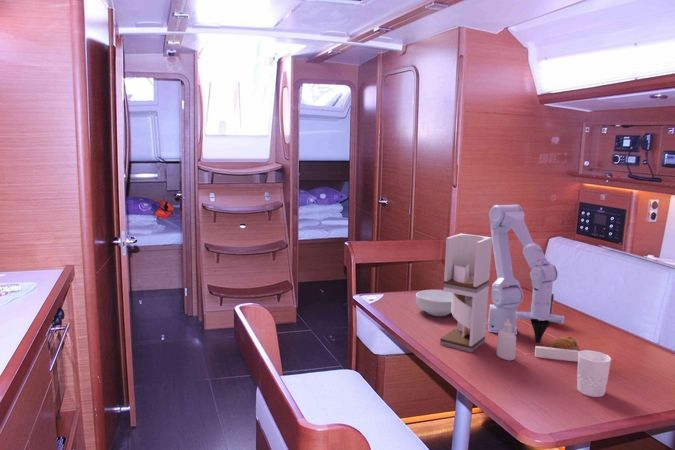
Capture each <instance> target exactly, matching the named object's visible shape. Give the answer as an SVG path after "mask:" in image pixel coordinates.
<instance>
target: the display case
mask: <svg viewBox="0 0 675 450" xmlns="http://www.w3.org/2000/svg"><path fill="white" fill-rule="evenodd" d="M445 242H446V243H445V259H444V270H443V271H444V274H443V275H444V277H443V291H445V292H450V293H452V305H451V312H452V313H451V314H452V317H453V318H454V319H455V320H456V321H457V323H456V328H454V329H452V330H451V331H449V332H448V333H446V334H445V335H443V336H442V337H440V338H439V339H440V340H439V341H440V343H439V345H441V346H446V347H448V348H453V349H457V350H460V351H463V352H468V353H473V352H474V351H476V349H478V348H479V347H480V346H481V345H483V344H484V343H485V341H486V328H487V327H486V326H487V316H488V315H487V313H488V302H489V289H490V288H489V287H490V275H491V262H492V251H493V250H492V249H493V243H492V236H491V237H490V236H485V235H484V236H483V235H477V234H470V233H469V234H467V233H458V234H455V235H451V236H448V237H446V239H445Z"/></svg>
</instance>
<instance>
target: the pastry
mask: <svg viewBox="0 0 675 450" xmlns="http://www.w3.org/2000/svg"><path fill="white" fill-rule="evenodd" d="M576 340H577V339H576V338H574V337H572V336H563V337H559V338H557V339H556V340H554V342H553V343H552V344H551V345H552V346H551V348H559V349H568V350H577V351H579V348H580V346H579V344H578V342H577V341H576Z"/></svg>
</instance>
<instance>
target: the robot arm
mask: <svg viewBox="0 0 675 450" xmlns="http://www.w3.org/2000/svg"><path fill="white" fill-rule="evenodd" d="M525 214H526V213H525V212H524V211H523V208H522V206H521V205H520V204H517V203H516V204H495V205H493V206H492V207H491V209H490V210H489V212H488V217H489V224H490V233H491V237H492V249H493V250H492V251H493V255H494V257H493V258H494V263H495V264H494V265H495V270H496V280H495V281H494V282H493V283H492V284H491V295H490V296H491V301H492V303H493V304H489V309H488V319H487V328H488V333H496V334H498V333H499V331H501V330H503V329H504V323H506V322H507V320H510V324H512V331H511V332H513V333H514V334H515V336H517V335H518V331H517V320H521V319H522V320H530V322H531V323H530V324H531V326H532V329H533V332H534V342H535V343H536V344H541V342H542V338H543V335H544V333H545V332H546V330H547V329H548V328H549V326H550V323H560V324H562V325H563V324H565V316H564V315H559V314H558V315H557V314H553V313H552V314H550V305H551V295H552V294H553V293H552V292H553V284H554V282H555V281H556V280H558V279H557V278H558V275H559V274H558V270H557V267H556V266H555V265H554V264H553V263H551V262H550V261H549V260H548V259H547V257H546V256H545V254H544V252H543V249H542V247H541V246H540V245H539V244H537V243H535V242H534V240H533V239H532V236H531V233H530V231H529V229H528V227H527V224H526V222H525V220H524V219H525ZM510 230H512V231H513V232H514V234H515V235H516V237H517V239H518V240H519V242H520V243H521V245H522V247H523V249H522V255H523V257H524V258H525V260H526V263H527V265H528V267H529V269H530V272H529V277H530V280H531V287H532V292H531V293H532V296H531V303H530V304H531V306H530V311H518V307H520V304H521V303H523V300H524V292H523V289H522V287H521V282H520V281H519V280H518V279H517V278H515V277H514V273H513V265H512V257H511V256H512V255H511V249H510V243H509V235H508V232H509V231H510ZM549 322H550V323H549Z"/></svg>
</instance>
